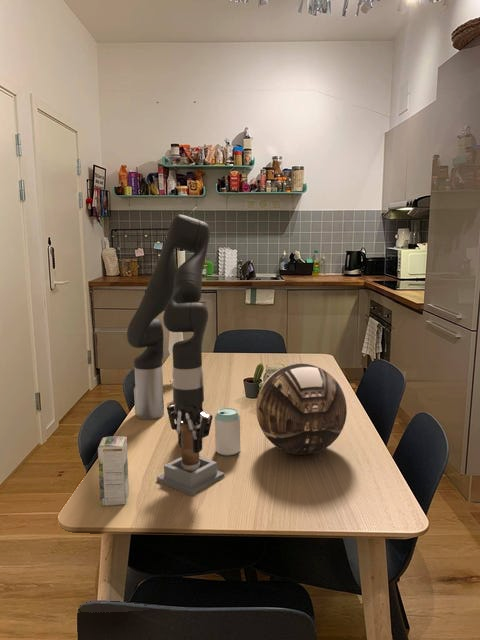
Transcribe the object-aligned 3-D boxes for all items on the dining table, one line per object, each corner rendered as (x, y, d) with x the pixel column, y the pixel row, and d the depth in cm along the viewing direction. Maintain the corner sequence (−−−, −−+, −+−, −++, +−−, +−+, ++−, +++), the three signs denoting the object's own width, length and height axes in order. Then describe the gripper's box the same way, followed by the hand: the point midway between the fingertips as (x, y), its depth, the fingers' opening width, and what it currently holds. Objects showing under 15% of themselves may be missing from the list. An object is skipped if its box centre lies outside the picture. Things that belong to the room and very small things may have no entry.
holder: (157, 480, 127) (156, 465, 126) (190, 463, 136) (190, 449, 135) (191, 495, 119) (190, 480, 119) (224, 476, 128) (224, 461, 128)
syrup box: (104, 493, 121) (101, 436, 118) (129, 492, 121) (126, 435, 119) (100, 506, 115) (96, 446, 113) (126, 505, 116) (123, 445, 113)
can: (231, 458, 138) (231, 417, 136) (210, 453, 142) (209, 412, 140) (245, 449, 144) (244, 409, 142) (224, 444, 148) (223, 405, 146)
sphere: (327, 430, 157) (329, 352, 153) (360, 466, 133) (362, 374, 129) (249, 436, 153) (248, 356, 149) (267, 475, 129) (267, 380, 125)
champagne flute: (188, 379, 213) (187, 323, 209) (178, 383, 208) (176, 326, 204) (176, 377, 217) (174, 322, 213) (166, 381, 211) (164, 325, 207)
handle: (177, 469, 127) (176, 424, 125) (190, 463, 130) (189, 418, 128) (191, 475, 124) (189, 428, 122) (203, 468, 127) (202, 423, 125)
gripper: (220, 385, 122) (221, 451, 125) (178, 375, 131) (181, 437, 134) (198, 393, 116) (200, 462, 119) (156, 382, 125) (159, 447, 128)
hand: (190, 449), depth 126 cm, fingers closed on handle, 4 cm apart
